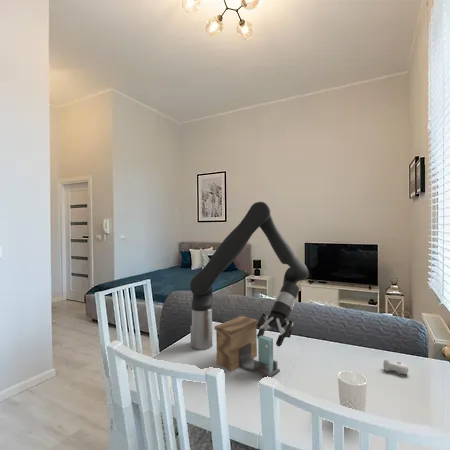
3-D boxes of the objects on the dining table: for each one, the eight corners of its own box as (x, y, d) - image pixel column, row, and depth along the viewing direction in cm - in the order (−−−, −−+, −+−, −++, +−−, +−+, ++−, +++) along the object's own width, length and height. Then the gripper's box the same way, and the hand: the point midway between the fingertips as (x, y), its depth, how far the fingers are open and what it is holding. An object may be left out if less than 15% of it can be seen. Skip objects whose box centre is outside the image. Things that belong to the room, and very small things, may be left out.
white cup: (365, 405, 87) (364, 372, 87) (369, 422, 79) (368, 387, 79) (337, 400, 89) (337, 369, 89) (339, 417, 82) (338, 382, 82)
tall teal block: (257, 369, 108) (256, 337, 107) (262, 365, 110) (262, 335, 110) (268, 374, 104) (267, 341, 104) (273, 370, 107) (272, 338, 107)
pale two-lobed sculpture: (408, 375, 106) (408, 377, 101) (383, 369, 110) (382, 371, 106) (408, 363, 107) (408, 364, 102) (383, 357, 111) (383, 358, 107)
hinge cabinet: (215, 364, 114) (214, 326, 113) (241, 349, 126) (241, 315, 126) (261, 385, 98) (260, 341, 98) (286, 366, 111) (286, 327, 111)
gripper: (265, 297, 120) (248, 332, 111) (295, 303, 110) (280, 342, 102) (272, 307, 124) (257, 342, 115) (302, 314, 114) (288, 352, 106)
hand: (268, 342), depth 109 cm, fingers open, 8 cm apart
